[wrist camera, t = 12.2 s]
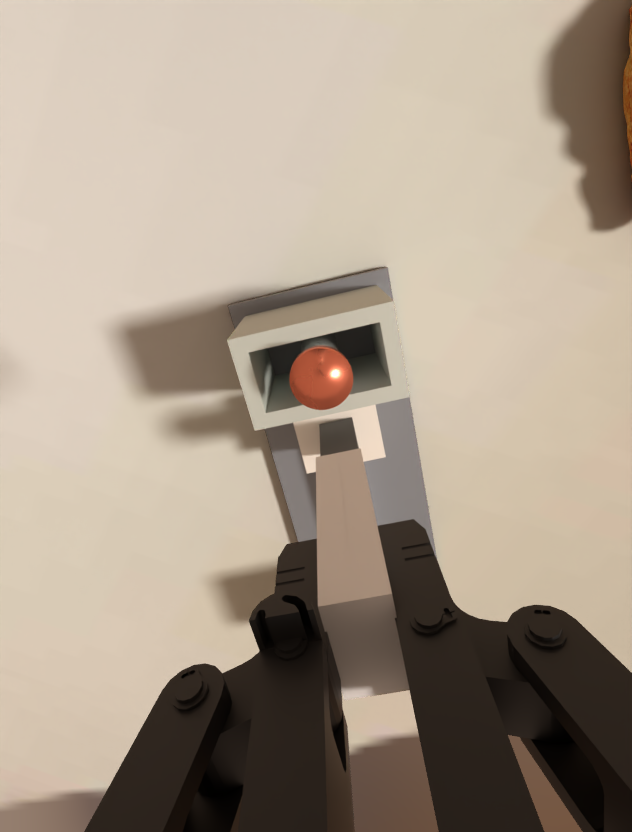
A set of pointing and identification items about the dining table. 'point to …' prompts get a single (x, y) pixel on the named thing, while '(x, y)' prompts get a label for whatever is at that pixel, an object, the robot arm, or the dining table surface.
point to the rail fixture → (372, 385)
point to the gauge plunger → (321, 374)
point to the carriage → (340, 435)
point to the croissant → (628, 91)
